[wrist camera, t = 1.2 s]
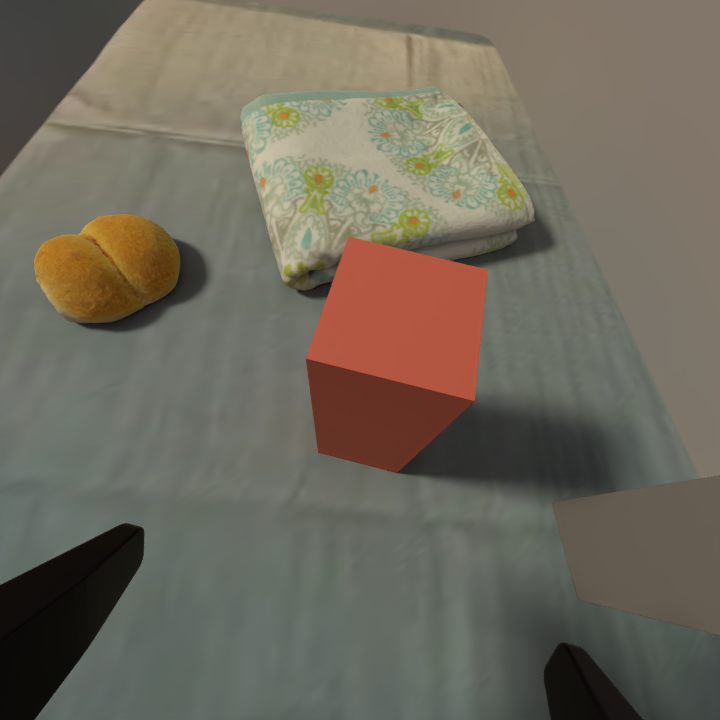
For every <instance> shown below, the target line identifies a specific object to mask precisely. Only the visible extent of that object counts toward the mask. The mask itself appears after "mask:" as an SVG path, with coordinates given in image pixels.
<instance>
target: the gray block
mask: <svg viewBox="0 0 720 720" xmlns="http://www.w3.org/2000/svg"><path fill="white" fill-rule="evenodd" d="M552 506H553V510H554V513H555V517H556V520H557V524H558V528H559V531H560V535H561V539H562V542H563V546H564V549H565V553H566V557H567V560H568V564H569V568H570V571H571V575H572V578H573V582H574V586H575V589H576V593H577V597H578V600H581V601H585V602H589V603H593V604H597V605H601V606H605V607H609V608H613V609H617V610H621V611H625V612H629V613H633V614H637V615H641V616H645V617H649V618H653V619H657V620H661V621H665V622H669V623H673V624H677V625H681V626H684V627H688V628H692V629H696V630H700V631H704V632H708V633H712V634H716V635H720V476H713V477H707V478H701V479H694V480H688V481H682V482H675V483H669V484H663V485H656V486H650V487H644V488H637V489H631V490H624V491H618V492H612V493H605V494H599V495H593V496H586V497H580V498H574V499H567V500H561V501H555V502H552Z"/></svg>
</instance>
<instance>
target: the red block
mask: <svg viewBox="0 0 720 720" xmlns="http://www.w3.org/2000/svg"><path fill="white" fill-rule="evenodd" d="M487 271H488V270H487V269H483V268H479V267H475V266H470V265H466V264H462V263H458V262H454V261H449V260H445V259H441V258H437V257H433V256H428V255H424V254H420V253H416V252H412V251H407V250H403V249H399V248H395V247H391V246H387V245H382V244H378V243H374V242H370V241H366V240H361V239H357V238H353V237H348V240H347V243H346V245H345V248H344V251H343V254H342V257H341V260H340V263H339V265H338V268H337V271H336V274H335V277H334V280H333V283H332V285H331V288H330V291H329V294H328V297H327V300H326V303H325V305H324V308H323V311H322V314H321V317H320V320H319V323H318V326H317V328H316V331H315V334H314V337H313V340H312V343H311V346H310V348H309V351H308V354H307V357H306V362H307V370H308V378H309V385H310V393H311V401H312V409H313V416H314V424H315V432H316V440H317V447H318V452H319V453H323V454H326V455H330V456H334V457H338V458H342V459H345V460H349V461H353V462H357V463H361V464H365V465H368V466H372V467H376V468H380V469H384V470H387V471H391V472H395V473H398V472H399V471H400V470H401V469H402V468H403V467H404V466H405V465H406V464H407V463H408V462H410V461H411V460H412V459H413V458H414V457H415V456H416V455H417V454H418V453H419V452H420V451H421V450H422V449H424V448H425V447H426V446H427V445H428V444H429V443H430V442H431V441H432V440H433V439H434V438H435V437H436V436H438V435H439V434H440V433H441V432H442V431H443V430H444V429H445V428H446V427H447V426H448V425H449V424H450V423H452V422H453V421H454V420H455V419H456V418H457V417H458V416H459V415H460V414H461V413H462V412H463V411H464V410H466V409H467V408H468V407H469V406H470V405H471V404H472V403H473V402H474V401H475V392H476V382H477V372H478V362H479V352H480V342H481V332H482V322H483V311H484V301H485V291H486V281H487Z"/></svg>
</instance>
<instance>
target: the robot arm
mask: <svg viewBox="0 0 720 720" xmlns="http://www.w3.org/2000/svg"><path fill="white" fill-rule="evenodd" d="M143 555H144V529H143V528H142V527H140V526H136V525H132V524H129V523H124V524H121V525H119V526H117V527H115V528H113V529H111V530H109V531H107V532H105V533H103V534H101V535H99V536H97V537H95V538H93V539H91V540H89V541H87V542H85V543H83V544H81V545H79V546H77V547H75V548H73V549H71V550H69V551H67V552H65V553H63V554H61V555H59V556H57V557H55V558H53V559H51V560H49V561H47V562H45V563H43V564H41V565H39V566H37V567H35V568H33V569H31V570H29V571H27V572H25V573H23V574H21V575H19V576H17V577H15V578H13V579H11V580H9V581H7V582H5V583H3V584H1V585H0V720H35V718H36V717H37V716H38V714H39V713H40V712H41V710H42V709H43V708H44V706H45V705H46V704H47V702H48V701H49V700H50V698H51V697H52V696H53V694H54V693H55V692H56V690H57V689H58V688H59V686H60V685H61V684H62V682H63V681H64V680H65V678H66V677H67V676H68V674H69V673H70V672H71V670H72V669H73V668H74V666H75V665H76V664H77V662H78V661H79V660H80V658H81V657H82V655H83V654H84V653H85V651H86V650H87V649H88V647H89V646H90V644H91V643H92V641H93V640H94V638H95V637H96V635H97V634H98V632H99V630H100V629H101V627H102V626H103V624H104V622H105V621H106V619H107V618H108V616H109V615H110V613H111V611H112V610H113V608H114V607H115V605H116V603H117V602H118V600H119V599H120V597H121V595H122V594H123V592H124V591H125V589H126V588H127V586H128V584H129V583H130V581H131V580H132V578H133V576H134V575H135V573H136V572H137V570H138V568H139V567H140V565H141V562H142V560H143ZM544 683H545V689H546V694H547V700H548V706H549V712H550V717H551V720H643V719H642V718H641V717H640V716H639V714H638V713H637V712H636V711H635V710H634V708H633V707H632V706H631V705H630V704H629V702H628V701H627V700H626V699H625V698H624V696H623V695H622V694H621V693H620V692H619V690H618V689H617V688H616V687H615V686H614V684H613V683H612V682H611V681H610V680H609V678H608V677H607V676H606V675H605V674H604V672H603V671H602V670H601V669H600V668H599V667H598V665H597V664H596V663H595V662H594V661H593V659H592V658H591V657H590V656H589V655H588V653H587V652H586V651H585V650H584V649H582V648H581V647H578V646H575V645H572V644H568V643H564V642H562V643H560V644H558V645H557V647H556V649H555V650H554V652H553V654H552V656H551V657H550V659H549V661H548V662H547V664H546V666H545V670H544Z"/></svg>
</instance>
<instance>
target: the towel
mask: <svg viewBox="0 0 720 720" xmlns="http://www.w3.org/2000/svg"><path fill="white" fill-rule="evenodd" d="M240 124H241V127H242V133H243V138H244V143H245V148H246V151H247V155H248V159H249V163H250V167H251V170H252V174H253V178H254V182H255V185H256V189H257V192H258V196H259V199H260V202H261V207H262V210H263V214H264V217H265V221H266V225H267V228H268V232H269V236H270V239H271V243H272V248H273V252H274V255H275V258H276V261H277V265H278V268H279V271H280V274H281V277H282V280H283V282H284V283H285V284H286V285H287V286H288V287H290V288H293V289H299V290H303V291H306V290H310V289H312V288H315V287H316V286H318V285H320V284H324V283H328V282H332V281H333V280H334V277H335V274H336V271H337V268H338V265H339V263H340V260H341V257H342V254H343V251H344V248H345V245H346V243H347V240H348V237H353V238H357V239H361V240H366V241H370V242H374V243H378V244H382V245H387V246H391V247H395V248H399V249H403V250H407V251H412V252H416V253H420V254H424V255H428V256H433V257H437V258H441V259H445V260H449V261H451V260H456V259H461V258H466V257H472V256H477V255H481V254H485V253H489V252H493V251H496V250H499V249H502V248H504V247H506V246H508V245H511V244H512V243H513V242H514V241H515V240H516V239H517V233H516V231H517V229H518V228H521V227H523V226H525V225H526V224H531V223H533V222H534V221H535V219H534V213H535V211H534V207H533V204H532V201H531V199H530V197H529V195H528V193H527V191H526V189H525V188H524V186H523V185H522V183H521V182H520V180H519V179H518V177H517V176H516V175H515V173H514V172H513V170H512V169H511V167H510V166H509V165H508V163H507V162H506V161H505V160H504V158H503V157H502V156H501V155H500V153H499V152H498V151H497V149H496V148H495V147H494V145H493V144H492V142H491V141H490V140H489V138H488V137H487V135H486V134H485V133H484V132H483V130H482V129H481V128H480V127H479V125H478V124H477V123H476V122H475V121H474V120H473V119H472V117H471V116H470V115H469V113H468V112H467V111H466V110H465V108H464V107H463V106H462V105H461V103H460V102H459V100H458V99H457V98H451V97H450V96H448V95H447V94H445V93H443V92H442V91H441V90H440V89H437V88H421V89H415V90H405V91H350V90H347V91H300V92H286V93H276V94H269V95H262V96H260V97H258V98H256V99H255V100H254V101H252V102H251V103H250V104H247V105H245V106H244V107H243V109H242V112H241V116H240Z"/></svg>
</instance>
